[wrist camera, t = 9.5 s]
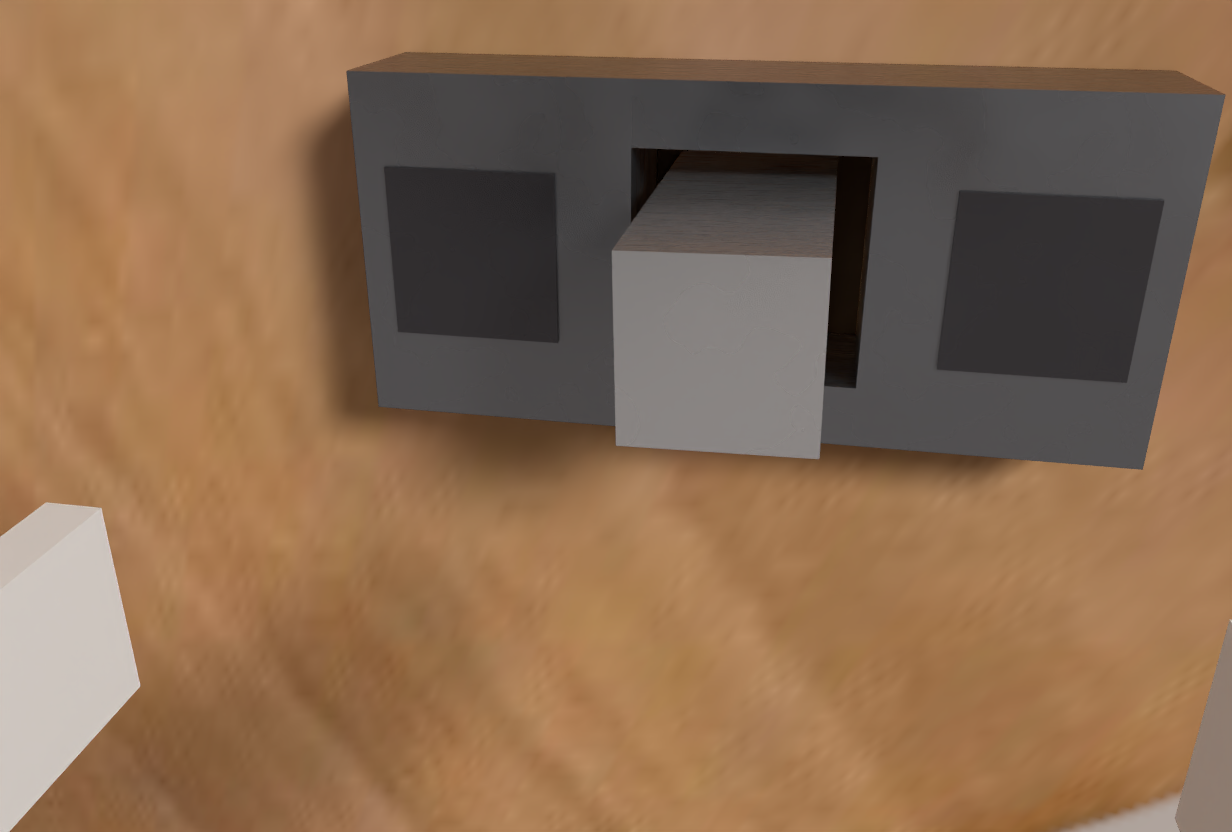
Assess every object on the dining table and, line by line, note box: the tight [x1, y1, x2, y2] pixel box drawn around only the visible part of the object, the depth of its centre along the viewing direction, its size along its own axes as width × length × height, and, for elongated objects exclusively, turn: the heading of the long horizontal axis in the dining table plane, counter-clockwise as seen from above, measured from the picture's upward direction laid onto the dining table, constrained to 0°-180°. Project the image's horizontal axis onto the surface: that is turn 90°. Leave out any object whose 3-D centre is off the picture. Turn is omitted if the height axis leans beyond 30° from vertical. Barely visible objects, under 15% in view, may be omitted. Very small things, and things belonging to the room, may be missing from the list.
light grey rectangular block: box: [612, 151, 838, 459], centre depth 27 cm, size 4×4×10 cm
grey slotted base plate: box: [347, 52, 1225, 470], centre depth 29 cm, size 20×9×4 cm, turn 90°
